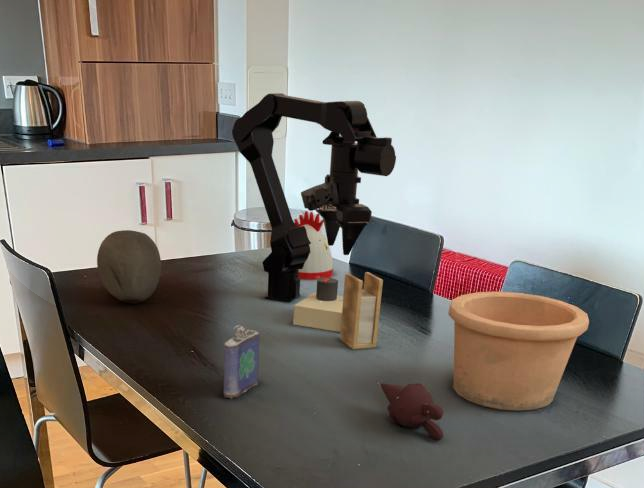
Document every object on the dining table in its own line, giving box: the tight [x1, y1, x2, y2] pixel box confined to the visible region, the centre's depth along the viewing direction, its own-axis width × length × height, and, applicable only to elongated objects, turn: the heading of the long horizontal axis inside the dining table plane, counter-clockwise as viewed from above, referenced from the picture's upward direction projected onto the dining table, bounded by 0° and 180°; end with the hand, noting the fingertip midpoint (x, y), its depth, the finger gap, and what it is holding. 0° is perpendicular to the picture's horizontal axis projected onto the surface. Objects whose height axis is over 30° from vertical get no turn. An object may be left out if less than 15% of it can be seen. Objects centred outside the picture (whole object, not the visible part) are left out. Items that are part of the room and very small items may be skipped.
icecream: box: [379, 382, 445, 441], centre depth 119 cm, size 7×7×15 cm
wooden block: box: [292, 291, 343, 333], centre depth 165 cm, size 14×13×4 cm
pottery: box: [448, 291, 590, 412], centre depth 130 cm, size 22×22×14 cm
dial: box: [315, 277, 339, 301], centre depth 166 cm, size 4×4×4 cm
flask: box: [223, 324, 261, 399], centre depth 128 cm, size 9×3×11 cm, turn 151°
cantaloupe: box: [96, 229, 162, 305], centre depth 170 cm, size 14×14×15 cm
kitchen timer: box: [293, 210, 334, 280], centre depth 198 cm, size 14×14×15 cm
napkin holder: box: [339, 271, 384, 350], centre depth 151 cm, size 6×5×13 cm
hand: (338, 250), depth 166 cm, fingers open, 9 cm apart
